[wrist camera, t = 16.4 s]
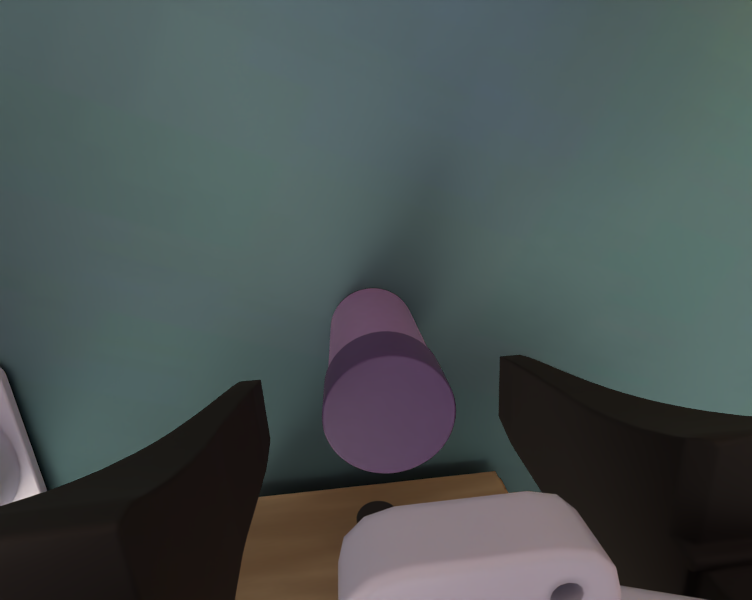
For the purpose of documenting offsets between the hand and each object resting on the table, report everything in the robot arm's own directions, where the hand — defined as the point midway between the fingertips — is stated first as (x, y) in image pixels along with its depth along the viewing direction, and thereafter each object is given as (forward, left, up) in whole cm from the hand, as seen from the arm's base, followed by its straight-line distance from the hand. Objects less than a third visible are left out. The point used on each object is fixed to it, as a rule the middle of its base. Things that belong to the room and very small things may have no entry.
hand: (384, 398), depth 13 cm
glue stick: (0, 0, -6) cm, 6 cm away
